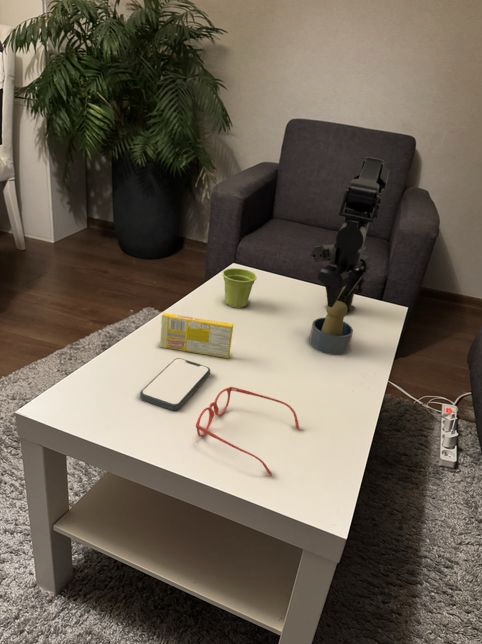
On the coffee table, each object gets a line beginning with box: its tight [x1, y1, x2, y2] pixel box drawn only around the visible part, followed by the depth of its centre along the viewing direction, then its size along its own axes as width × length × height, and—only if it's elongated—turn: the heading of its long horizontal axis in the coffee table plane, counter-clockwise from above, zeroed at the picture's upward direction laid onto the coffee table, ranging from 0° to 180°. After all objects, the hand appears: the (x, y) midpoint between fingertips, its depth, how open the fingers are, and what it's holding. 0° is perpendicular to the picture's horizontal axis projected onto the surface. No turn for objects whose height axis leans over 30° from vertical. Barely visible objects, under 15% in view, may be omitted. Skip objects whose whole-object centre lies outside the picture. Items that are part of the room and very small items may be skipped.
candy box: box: [159, 312, 234, 359], centre depth 122 cm, size 16×2×8 cm, turn 84°
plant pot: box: [221, 267, 258, 309], centre depth 148 cm, size 9×9×9 cm
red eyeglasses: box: [195, 386, 300, 476], centre depth 99 cm, size 17×16×5 cm
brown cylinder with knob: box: [321, 301, 348, 336], centre depth 134 cm, size 6×6×11 cm
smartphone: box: [139, 357, 211, 411], centre depth 111 cm, size 9×2×16 cm
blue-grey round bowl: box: [308, 317, 354, 355], centre depth 135 cm, size 10×10×5 cm
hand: (337, 301), depth 131 cm, fingers open, 9 cm apart
